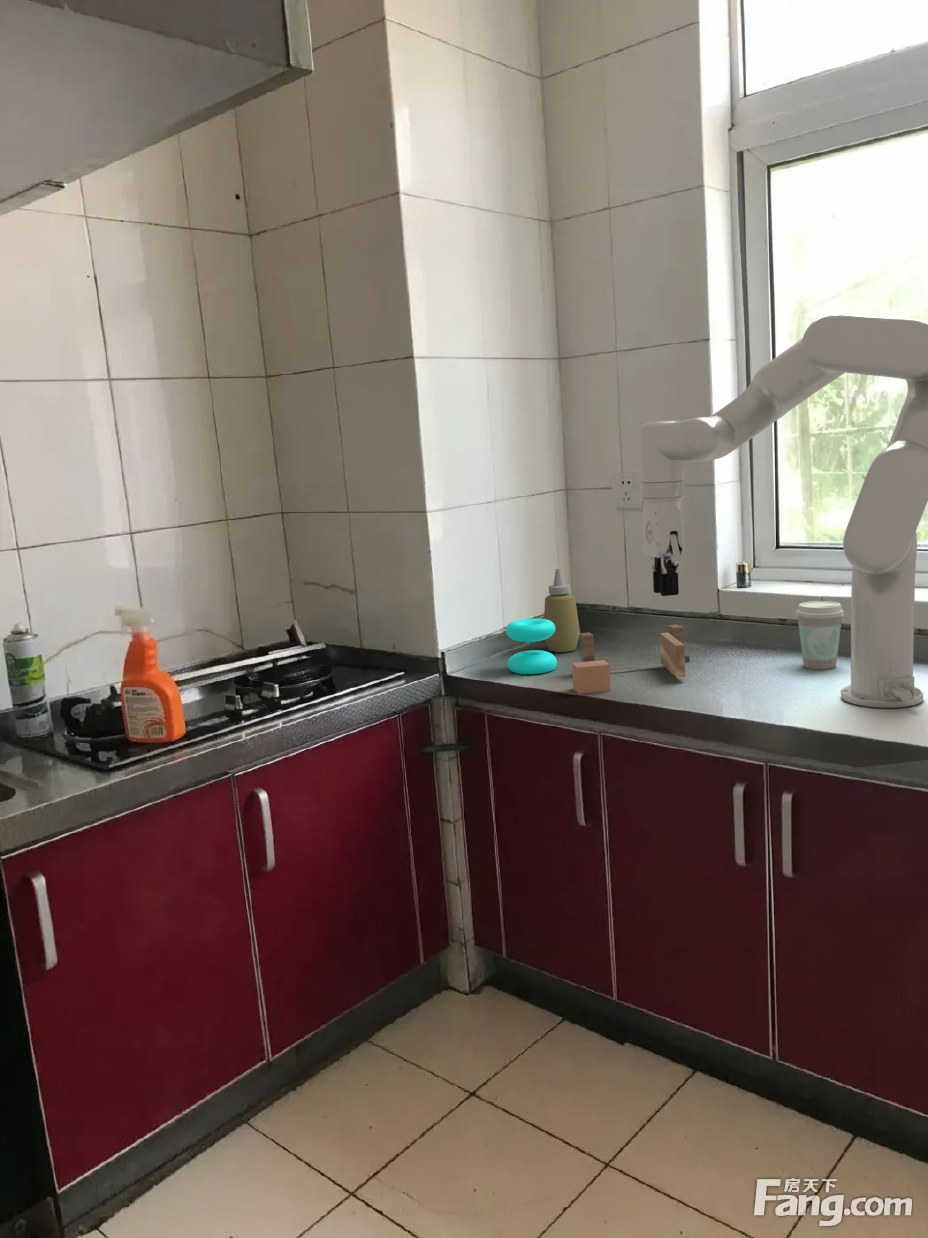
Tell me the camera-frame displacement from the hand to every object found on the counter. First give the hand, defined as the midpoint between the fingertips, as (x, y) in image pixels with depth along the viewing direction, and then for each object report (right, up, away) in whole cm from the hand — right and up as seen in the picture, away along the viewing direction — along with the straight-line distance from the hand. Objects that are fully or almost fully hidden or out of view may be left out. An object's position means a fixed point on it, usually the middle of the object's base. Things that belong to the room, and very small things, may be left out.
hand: (665, 592), depth 180 cm
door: (+4, -14, +10) cm, 18 cm away
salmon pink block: (-13, -18, +3) cm, 22 cm away
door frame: (-4, -15, +16) cm, 22 cm away
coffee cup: (+31, -14, +10) cm, 36 cm away
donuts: (-23, -15, +22) cm, 35 cm away
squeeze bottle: (-15, -12, +39) cm, 43 cm away
